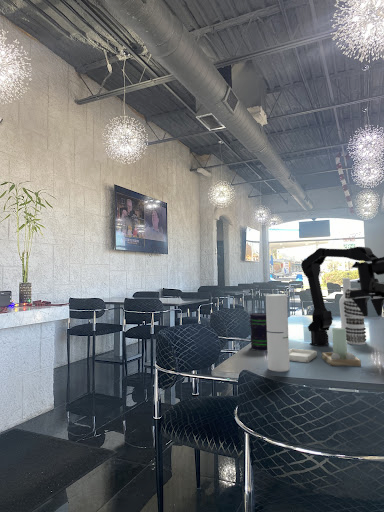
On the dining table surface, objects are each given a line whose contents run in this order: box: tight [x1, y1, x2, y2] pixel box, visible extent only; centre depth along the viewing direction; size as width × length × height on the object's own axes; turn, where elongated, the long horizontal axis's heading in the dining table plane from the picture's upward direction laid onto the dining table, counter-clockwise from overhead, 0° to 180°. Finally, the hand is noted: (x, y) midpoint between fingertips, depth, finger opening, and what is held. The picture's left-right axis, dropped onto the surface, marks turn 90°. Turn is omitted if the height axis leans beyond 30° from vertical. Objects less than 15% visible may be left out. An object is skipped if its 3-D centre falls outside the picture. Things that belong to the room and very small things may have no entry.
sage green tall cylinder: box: [331, 327, 348, 360], centre depth 126 cm, size 5×5×11 cm
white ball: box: [331, 352, 340, 359], centre depth 123 cm, size 3×3×3 cm
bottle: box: [338, 277, 352, 338], centre depth 175 cm, size 8×8×30 cm
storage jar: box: [249, 312, 267, 352], centre depth 153 cm, size 10×10×15 cm
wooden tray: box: [321, 352, 362, 367], centre depth 126 cm, size 12×10×2 cm
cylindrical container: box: [265, 293, 291, 373], centre depth 119 cm, size 7×7×25 cm
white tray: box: [289, 348, 318, 364], centre depth 133 cm, size 12×10×2 cm
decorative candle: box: [343, 288, 367, 346], centre depth 161 cm, size 9×9×25 cm
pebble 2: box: [346, 352, 356, 360], centre depth 122 cm, size 3×3×3 cm
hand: (373, 315), depth 138 cm, fingers open, 9 cm apart
